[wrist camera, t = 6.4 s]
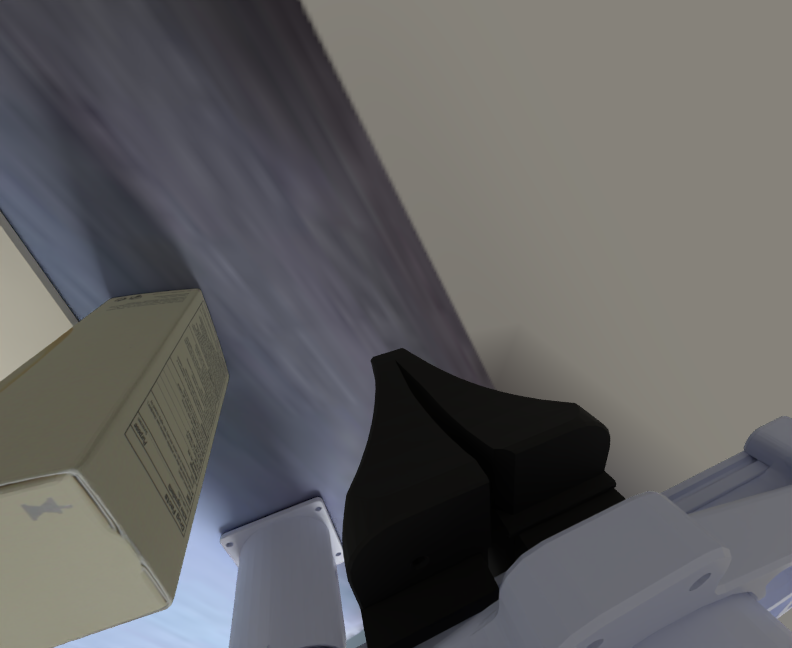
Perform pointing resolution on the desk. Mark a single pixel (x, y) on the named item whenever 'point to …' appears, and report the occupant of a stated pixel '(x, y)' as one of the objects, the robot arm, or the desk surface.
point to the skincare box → (105, 466)
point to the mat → (26, 304)
